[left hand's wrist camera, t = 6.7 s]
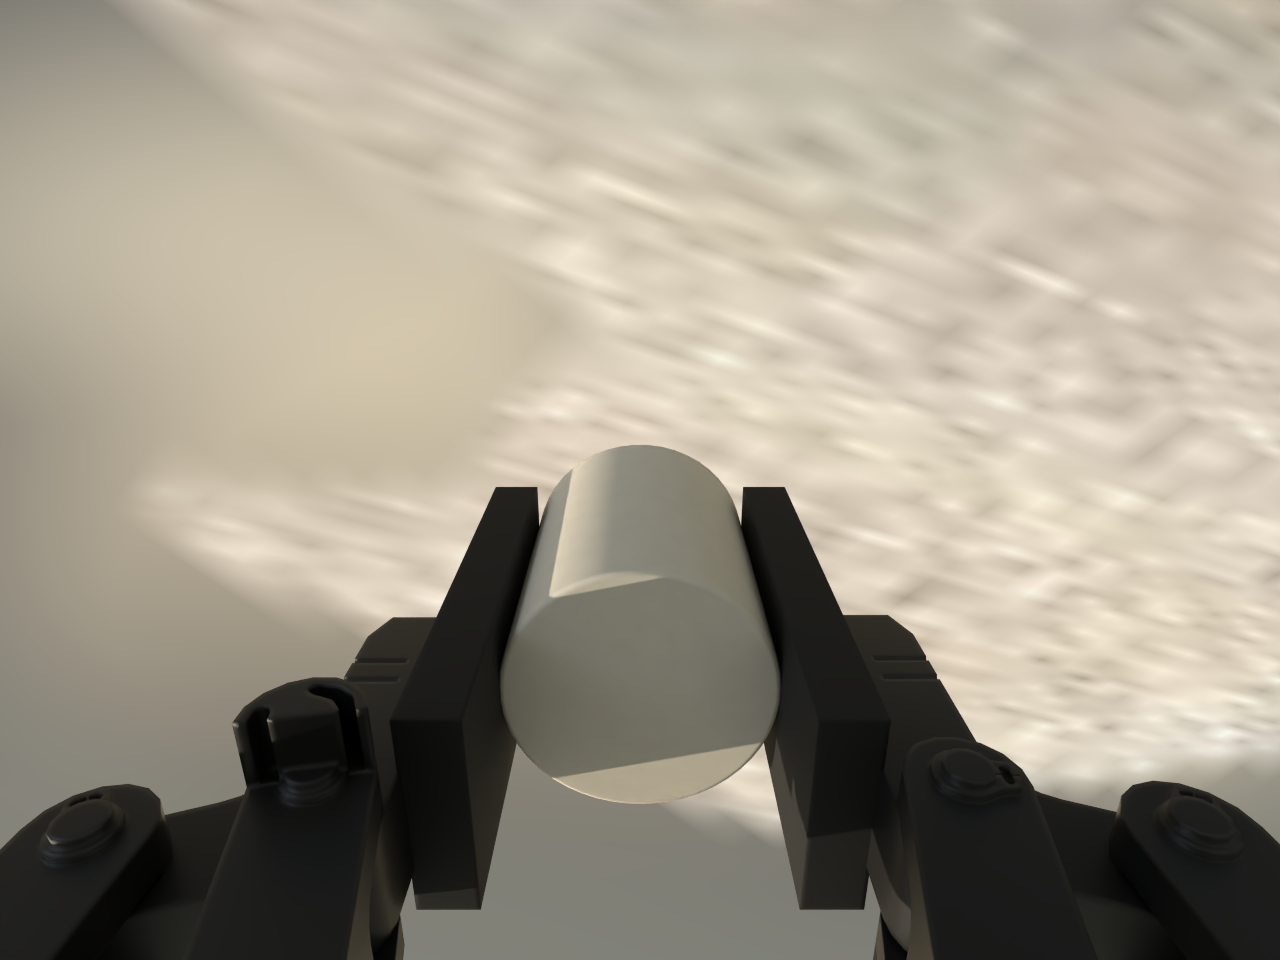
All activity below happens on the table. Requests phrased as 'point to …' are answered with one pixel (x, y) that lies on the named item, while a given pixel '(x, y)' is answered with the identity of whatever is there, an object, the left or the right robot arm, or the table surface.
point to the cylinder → (640, 633)
